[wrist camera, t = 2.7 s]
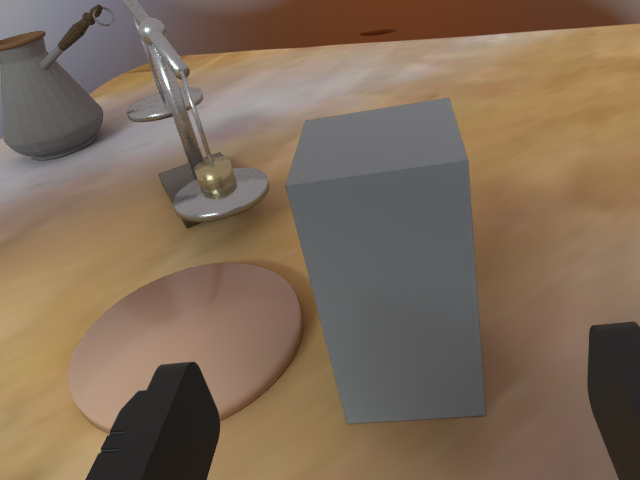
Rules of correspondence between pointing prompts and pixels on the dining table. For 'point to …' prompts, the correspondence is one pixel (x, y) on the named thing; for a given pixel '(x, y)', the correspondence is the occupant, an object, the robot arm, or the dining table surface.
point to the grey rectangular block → (392, 260)
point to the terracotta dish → (190, 338)
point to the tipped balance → (190, 138)
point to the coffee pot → (46, 96)
